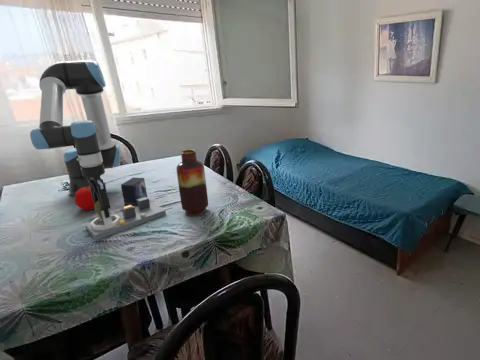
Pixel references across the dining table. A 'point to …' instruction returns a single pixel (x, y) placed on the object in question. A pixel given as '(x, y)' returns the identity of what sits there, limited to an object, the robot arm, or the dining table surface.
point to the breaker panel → (123, 221)
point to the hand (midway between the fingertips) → (105, 221)
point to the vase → (192, 184)
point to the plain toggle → (143, 203)
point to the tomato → (84, 198)
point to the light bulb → (98, 209)
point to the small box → (133, 191)
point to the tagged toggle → (128, 211)
